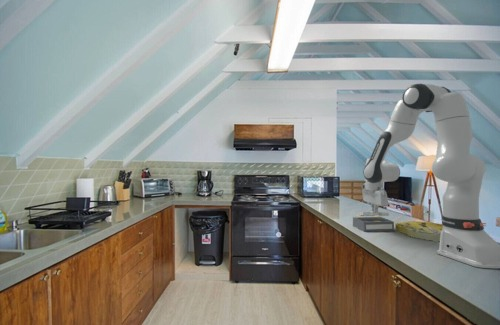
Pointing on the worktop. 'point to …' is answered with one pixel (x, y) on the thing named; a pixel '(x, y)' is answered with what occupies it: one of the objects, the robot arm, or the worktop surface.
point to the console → (373, 224)
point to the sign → (421, 230)
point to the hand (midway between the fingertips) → (374, 212)
